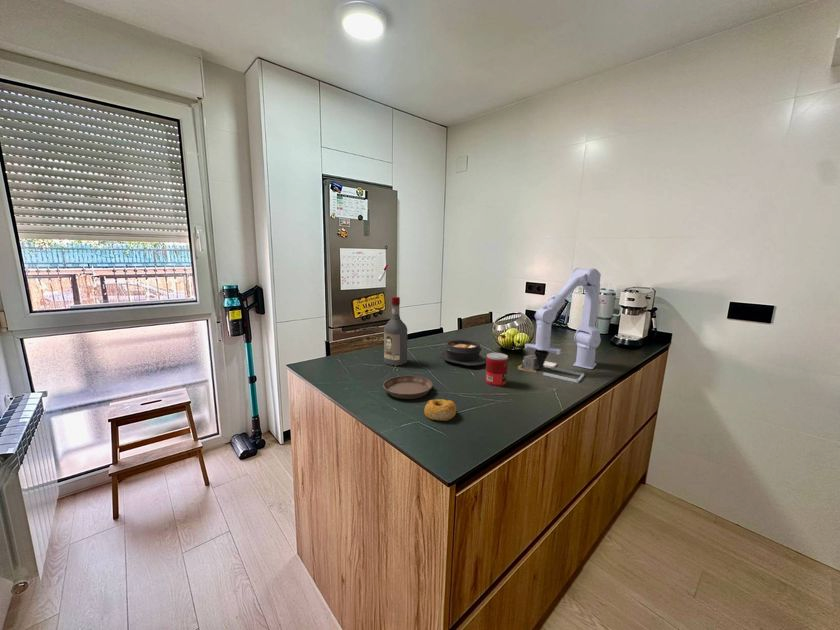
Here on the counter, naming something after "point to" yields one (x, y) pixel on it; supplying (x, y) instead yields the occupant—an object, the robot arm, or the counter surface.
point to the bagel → (440, 409)
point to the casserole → (463, 353)
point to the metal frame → (565, 377)
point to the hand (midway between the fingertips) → (540, 367)
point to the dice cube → (530, 362)
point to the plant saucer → (407, 387)
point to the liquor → (395, 337)
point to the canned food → (496, 369)
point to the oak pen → (527, 369)
